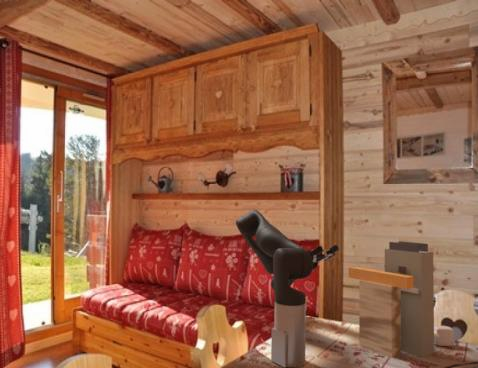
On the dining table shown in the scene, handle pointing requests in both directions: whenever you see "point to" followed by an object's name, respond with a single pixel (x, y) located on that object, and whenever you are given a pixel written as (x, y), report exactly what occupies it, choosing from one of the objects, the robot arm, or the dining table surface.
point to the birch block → (380, 318)
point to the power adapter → (443, 336)
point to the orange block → (382, 277)
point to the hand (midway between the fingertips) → (329, 247)
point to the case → (414, 295)
